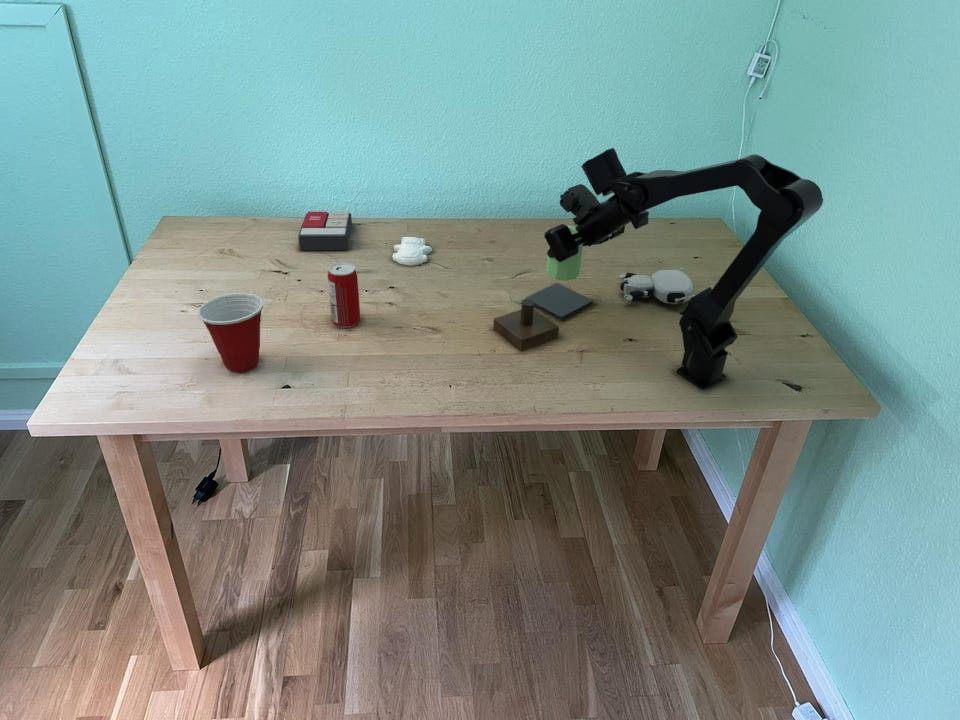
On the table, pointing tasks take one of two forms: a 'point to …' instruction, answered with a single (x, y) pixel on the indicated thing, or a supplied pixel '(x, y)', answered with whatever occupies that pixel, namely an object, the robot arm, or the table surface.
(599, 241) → the robot arm
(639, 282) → the robot toy
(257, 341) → the plastic cup
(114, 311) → the table surface
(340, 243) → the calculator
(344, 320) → the soda can
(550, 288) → the slate coaster
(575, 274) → the green faceted hollow cylinder
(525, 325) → the stacking stand
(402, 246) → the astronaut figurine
